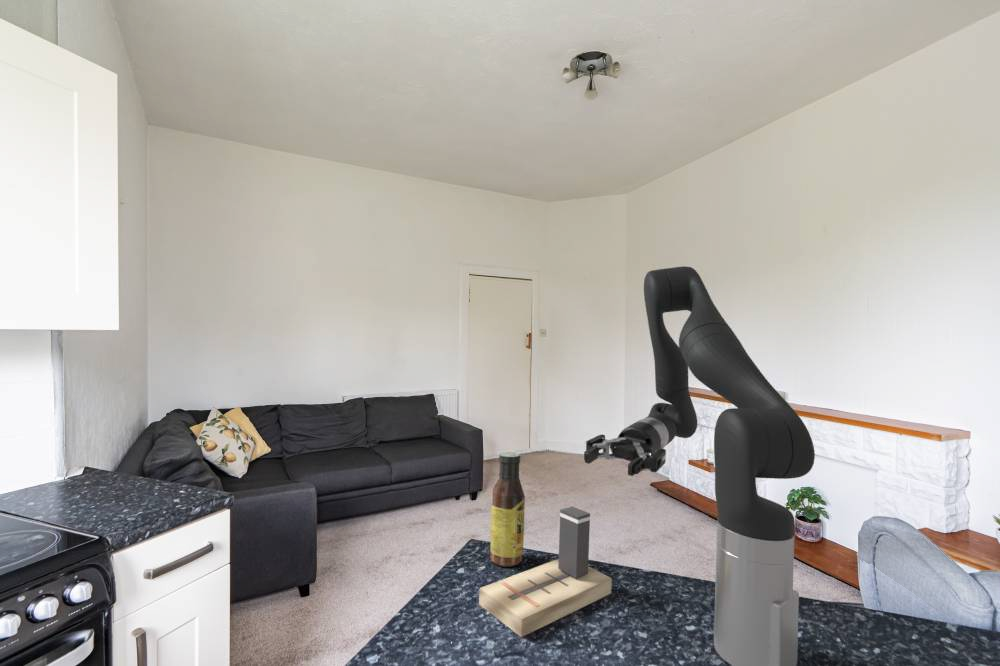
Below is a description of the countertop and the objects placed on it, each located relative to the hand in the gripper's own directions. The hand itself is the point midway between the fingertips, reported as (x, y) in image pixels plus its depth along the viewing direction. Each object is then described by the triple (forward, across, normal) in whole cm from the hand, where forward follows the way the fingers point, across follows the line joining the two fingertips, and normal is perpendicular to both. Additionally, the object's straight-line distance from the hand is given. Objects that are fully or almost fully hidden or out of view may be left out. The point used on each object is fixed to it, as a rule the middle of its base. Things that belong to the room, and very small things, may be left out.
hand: (607, 464), depth 84 cm
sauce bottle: (+10, -15, +20) cm, 27 cm away
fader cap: (+10, -1, +16) cm, 19 cm away
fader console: (+16, -2, +18) cm, 24 cm away
